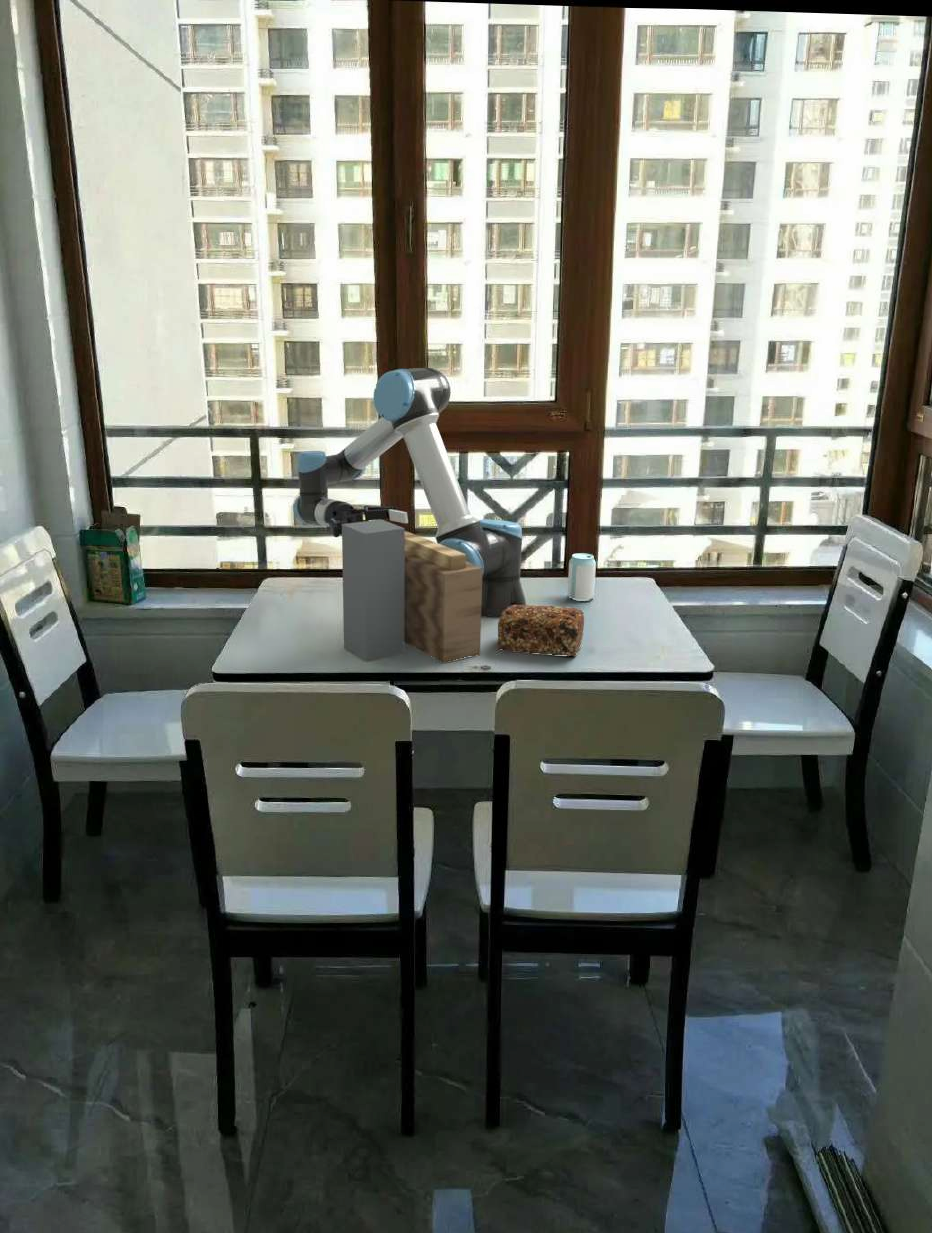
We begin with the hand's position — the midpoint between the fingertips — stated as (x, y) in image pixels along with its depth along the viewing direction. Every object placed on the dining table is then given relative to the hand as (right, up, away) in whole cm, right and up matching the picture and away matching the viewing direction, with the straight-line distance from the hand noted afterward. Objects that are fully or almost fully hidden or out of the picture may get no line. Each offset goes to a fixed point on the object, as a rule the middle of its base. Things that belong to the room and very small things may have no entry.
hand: (385, 525), depth 247 cm
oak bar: (+10, -8, -18) cm, 22 cm away
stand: (-1, -30, -20) cm, 36 cm away
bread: (+37, -30, -15) cm, 50 cm away
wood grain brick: (+13, -29, -16) cm, 36 cm away
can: (+51, -18, +22) cm, 58 cm away
